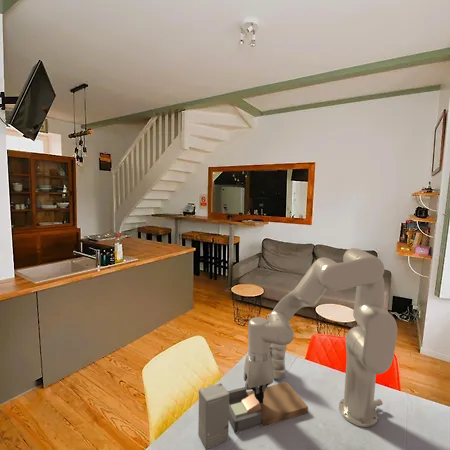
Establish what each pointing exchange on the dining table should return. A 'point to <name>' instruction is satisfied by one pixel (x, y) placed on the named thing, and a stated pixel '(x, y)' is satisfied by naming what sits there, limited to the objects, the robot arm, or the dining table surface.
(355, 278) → the robot arm
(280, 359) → the metal bottle
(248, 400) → the tile
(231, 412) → the box
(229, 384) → the dining table surface
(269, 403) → the walnut plate
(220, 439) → the skincare box
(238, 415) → the tile
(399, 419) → the dining table surface
